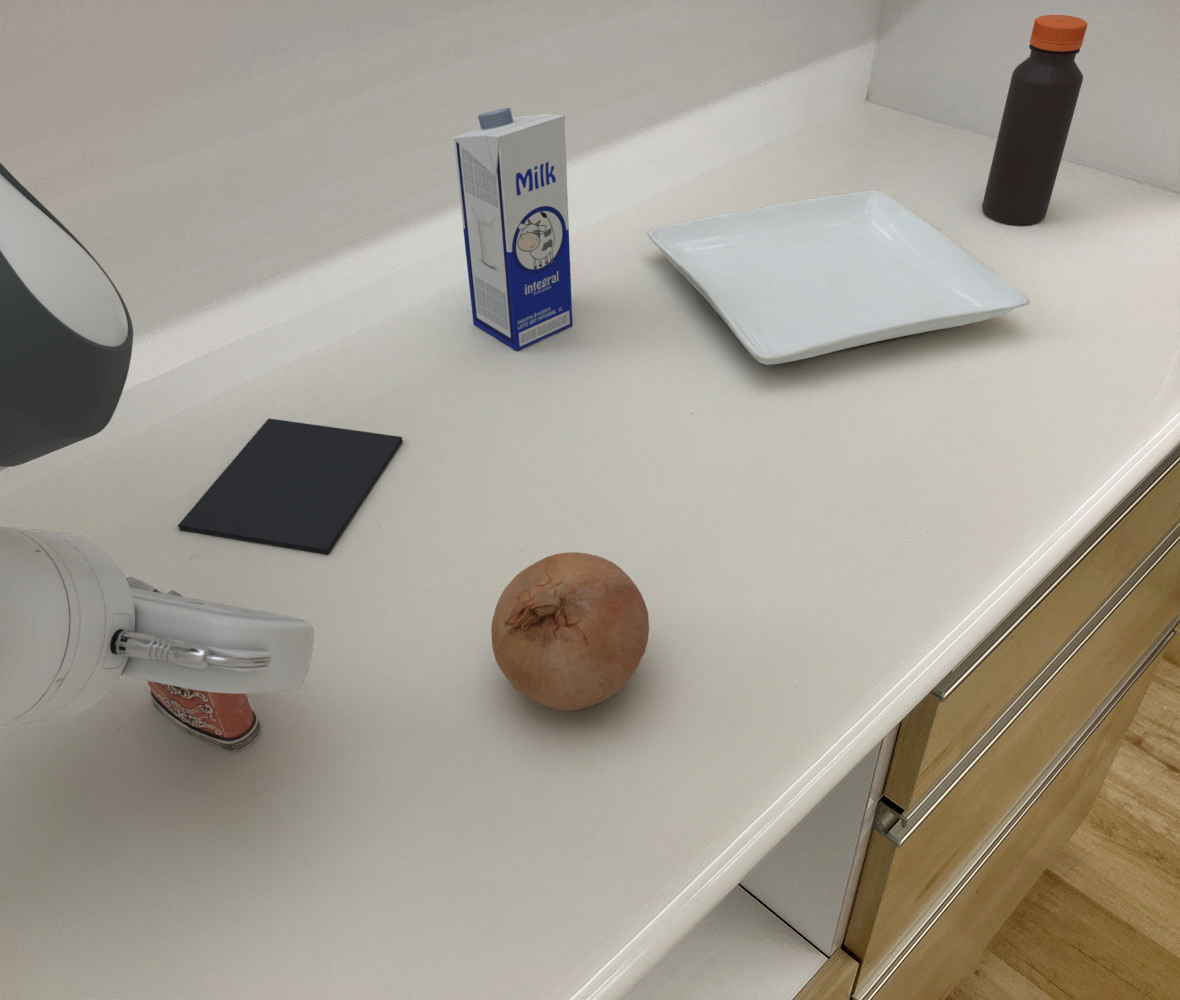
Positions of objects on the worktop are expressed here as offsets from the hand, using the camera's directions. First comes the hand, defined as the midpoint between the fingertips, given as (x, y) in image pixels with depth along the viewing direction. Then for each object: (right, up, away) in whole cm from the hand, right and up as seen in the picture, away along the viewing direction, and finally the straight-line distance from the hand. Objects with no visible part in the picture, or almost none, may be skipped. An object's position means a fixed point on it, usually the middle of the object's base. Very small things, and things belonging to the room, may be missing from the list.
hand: (196, 623), depth 61 cm
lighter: (0, -6, +3) cm, 6 cm away
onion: (+22, -4, +4) cm, 23 cm away
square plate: (+46, +27, +41) cm, 68 cm away
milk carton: (+17, +24, +38) cm, 48 cm away
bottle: (+70, +39, +55) cm, 97 cm away
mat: (0, +8, +20) cm, 22 cm away
